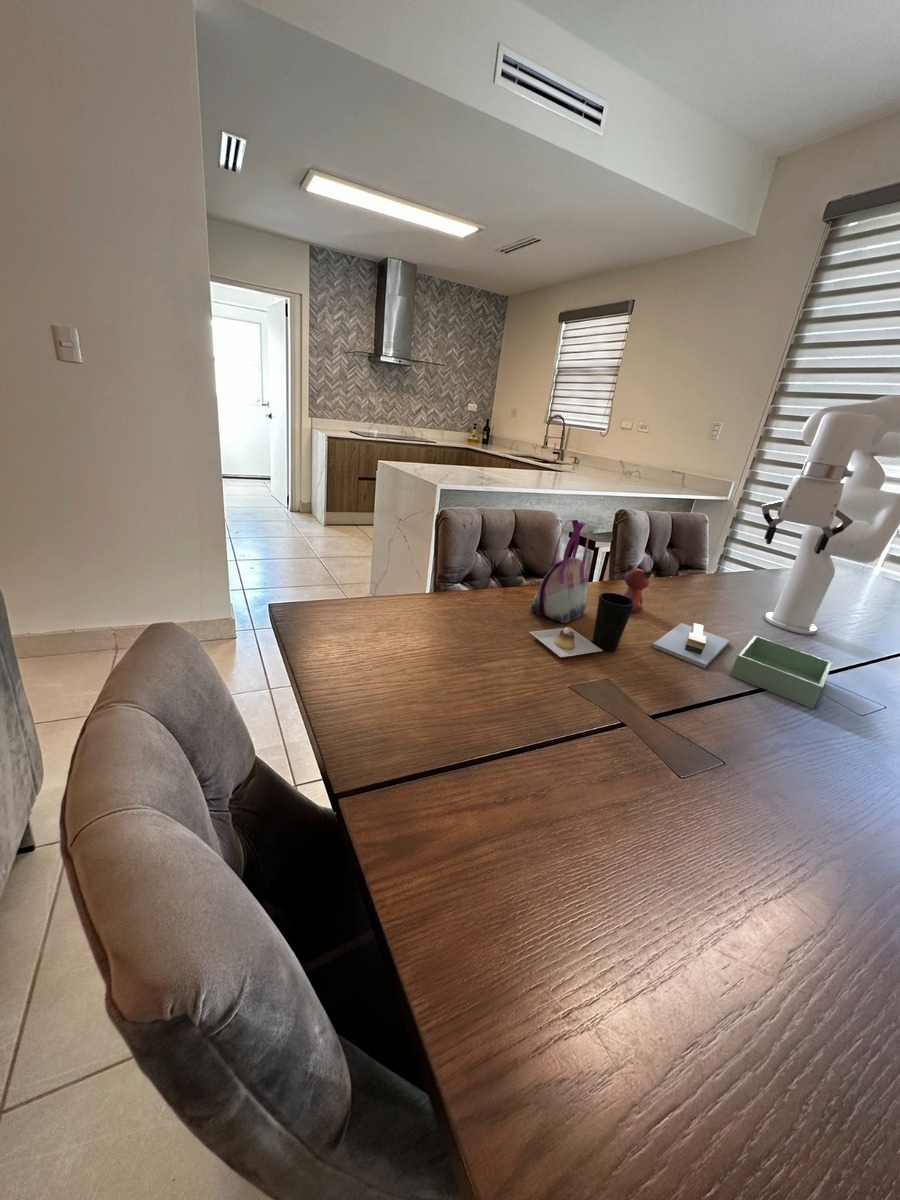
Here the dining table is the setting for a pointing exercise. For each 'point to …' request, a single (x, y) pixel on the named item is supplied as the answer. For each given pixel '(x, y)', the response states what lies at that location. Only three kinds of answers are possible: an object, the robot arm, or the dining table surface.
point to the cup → (611, 620)
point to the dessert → (565, 642)
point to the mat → (677, 641)
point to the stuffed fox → (636, 585)
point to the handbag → (564, 583)
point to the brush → (696, 639)
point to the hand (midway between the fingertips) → (791, 547)
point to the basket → (782, 670)
